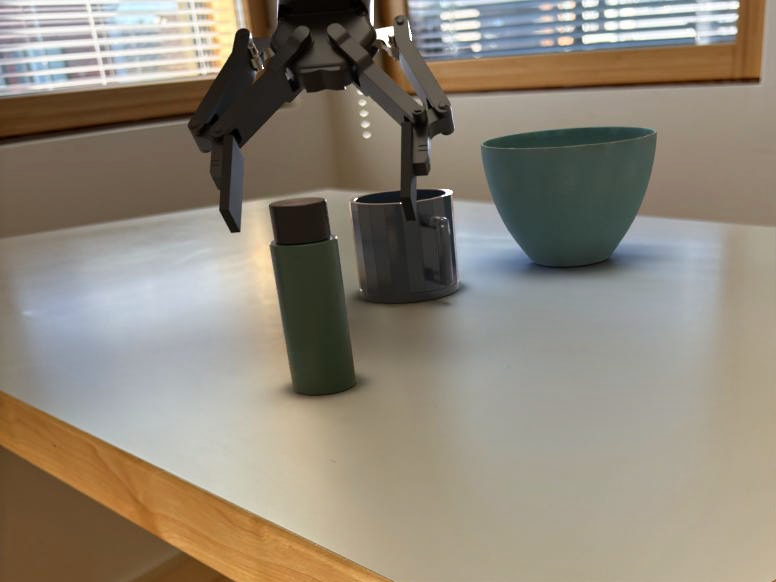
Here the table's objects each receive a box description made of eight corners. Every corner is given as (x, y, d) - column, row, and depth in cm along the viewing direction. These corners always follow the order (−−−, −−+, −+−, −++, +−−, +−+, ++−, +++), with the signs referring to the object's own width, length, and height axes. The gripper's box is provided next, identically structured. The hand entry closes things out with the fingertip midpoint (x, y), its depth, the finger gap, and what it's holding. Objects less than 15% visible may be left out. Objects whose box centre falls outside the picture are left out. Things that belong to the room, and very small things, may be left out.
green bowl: (675, 267, 106) (678, 134, 99) (499, 284, 104) (492, 151, 98) (631, 238, 121) (632, 122, 115) (478, 252, 120) (471, 136, 114)
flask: (283, 385, 79) (252, 203, 72) (340, 372, 81) (315, 194, 74) (307, 399, 75) (277, 209, 69) (366, 385, 77) (343, 199, 71)
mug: (344, 292, 106) (332, 198, 102) (429, 276, 110) (421, 185, 106) (405, 314, 96) (394, 211, 91) (496, 295, 100) (490, 196, 96)
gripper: (486, 10, 85) (488, 235, 79) (192, 35, 87) (175, 256, 82) (477, -74, 77) (479, 169, 72) (156, -44, 80) (136, 193, 74)
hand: (318, 216), depth 77 cm, fingers open, 13 cm apart
